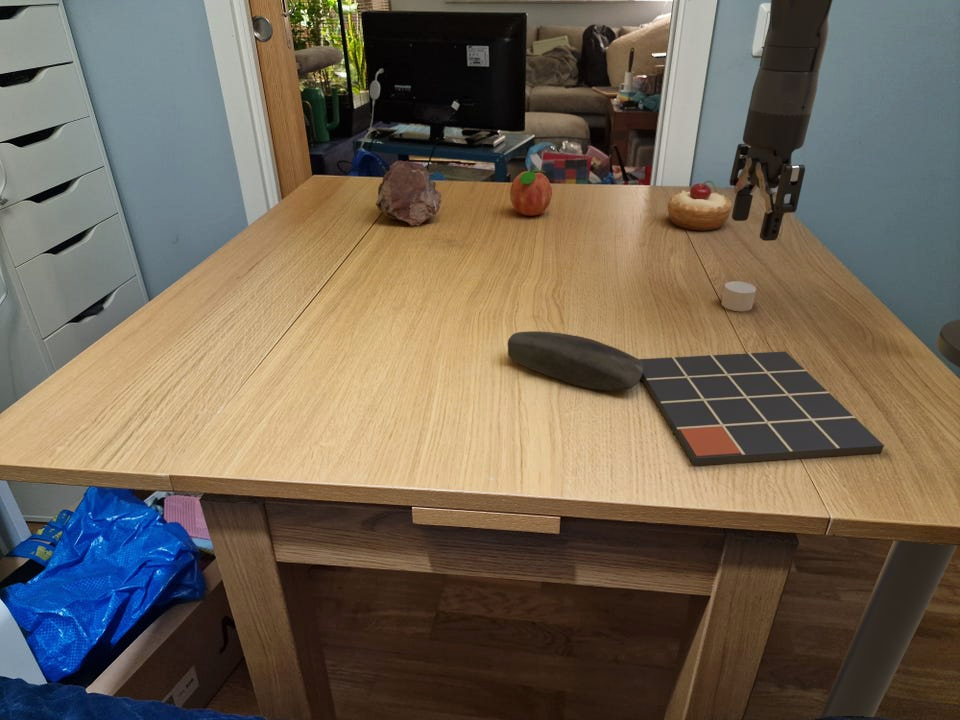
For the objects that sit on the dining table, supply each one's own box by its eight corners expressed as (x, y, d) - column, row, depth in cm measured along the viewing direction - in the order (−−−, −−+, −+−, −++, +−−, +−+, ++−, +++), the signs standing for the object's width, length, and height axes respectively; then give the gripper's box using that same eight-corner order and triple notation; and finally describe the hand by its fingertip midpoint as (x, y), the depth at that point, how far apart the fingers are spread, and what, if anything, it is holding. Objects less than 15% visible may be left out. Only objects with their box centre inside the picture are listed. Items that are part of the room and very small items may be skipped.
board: (783, 357, 85) (785, 350, 85) (881, 453, 68) (884, 444, 67) (632, 366, 83) (633, 358, 83) (693, 466, 66) (695, 457, 66)
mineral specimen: (391, 247, 135) (389, 204, 144) (450, 226, 132) (444, 184, 142) (365, 203, 126) (365, 160, 136) (427, 180, 124) (423, 138, 134)
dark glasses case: (647, 375, 81) (652, 346, 79) (635, 402, 76) (639, 370, 74) (519, 347, 88) (520, 319, 86) (499, 369, 83) (500, 340, 81)
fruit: (500, 215, 137) (501, 166, 132) (525, 204, 144) (527, 158, 139) (535, 223, 133) (537, 173, 128) (559, 211, 140) (562, 163, 135)
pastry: (688, 211, 140) (694, 168, 136) (739, 224, 132) (748, 179, 128) (653, 222, 133) (659, 178, 129) (705, 237, 125) (713, 190, 121)
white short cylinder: (744, 298, 101) (748, 280, 100) (757, 310, 97) (761, 292, 96) (716, 299, 101) (719, 281, 99) (728, 312, 97) (732, 293, 96)
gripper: (840, 117, 79) (805, 246, 87) (780, 98, 91) (754, 213, 99) (780, 117, 78) (751, 248, 86) (728, 98, 90) (706, 214, 99)
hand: (752, 229), depth 93 cm, fingers open, 8 cm apart
